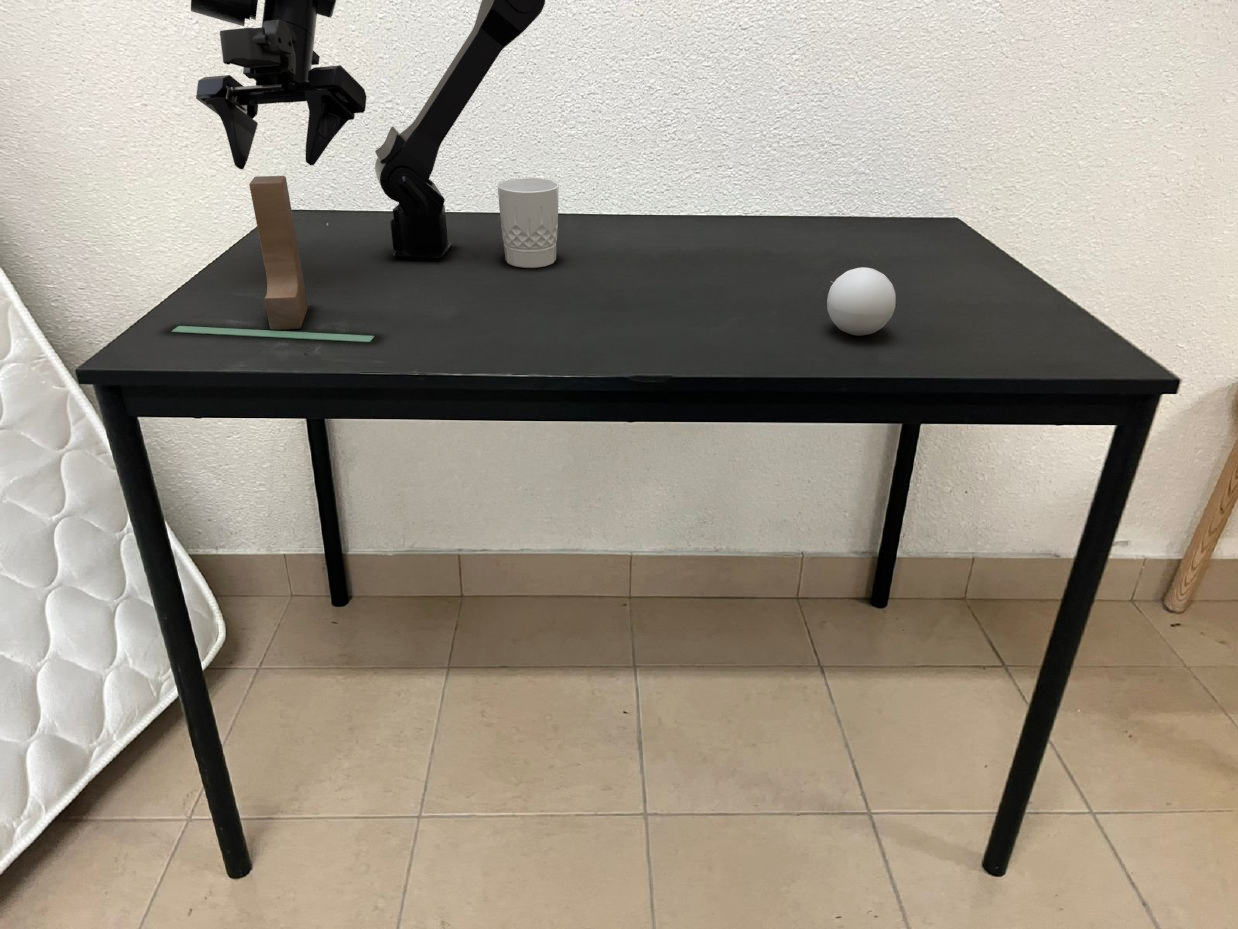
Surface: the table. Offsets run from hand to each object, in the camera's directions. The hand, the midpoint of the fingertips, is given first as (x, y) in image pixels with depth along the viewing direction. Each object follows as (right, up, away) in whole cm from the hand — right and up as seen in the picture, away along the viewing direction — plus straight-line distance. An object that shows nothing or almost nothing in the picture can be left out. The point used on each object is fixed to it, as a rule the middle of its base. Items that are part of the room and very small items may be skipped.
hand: (273, 165), depth 101 cm
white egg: (+65, -19, -1) cm, 68 cm away
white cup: (+27, -7, +19) cm, 34 cm away
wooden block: (+2, -18, -1) cm, 18 cm away
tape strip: (+2, -20, -5) cm, 20 cm away
